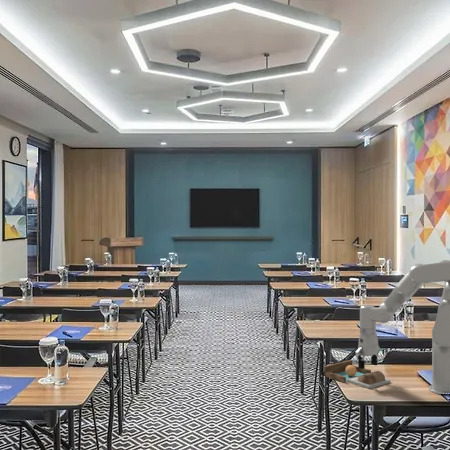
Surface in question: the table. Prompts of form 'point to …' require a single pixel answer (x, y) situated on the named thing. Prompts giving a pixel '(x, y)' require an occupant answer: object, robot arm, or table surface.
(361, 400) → the table surface
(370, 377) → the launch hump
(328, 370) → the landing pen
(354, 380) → the grey base plate
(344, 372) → the mat
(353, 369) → the ball
